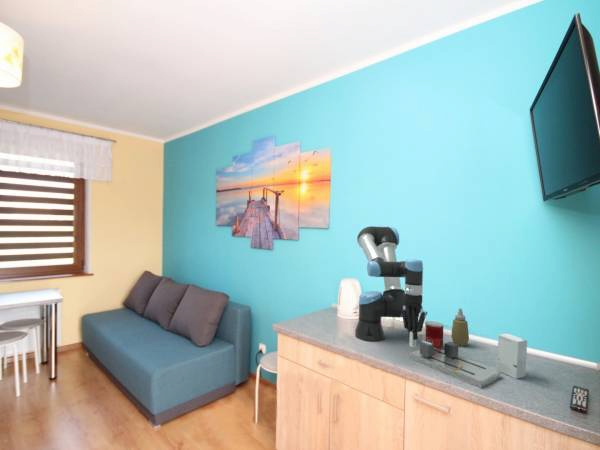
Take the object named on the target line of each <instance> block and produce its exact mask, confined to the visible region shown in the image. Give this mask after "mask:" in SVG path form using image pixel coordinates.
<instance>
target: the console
mask: <svg viewBox="0 0 600 450" xmlns="http://www.w3.org/2000/svg"><path fill="white" fill-rule="evenodd" d="M443 346H444V350H443V349H442V348H436V347H434V355H433V356H431V357H426V356H423V355H421V354H420V348H419V349H417V350H414V351H411V352H409V359H411V360H412V361H415V362H417V363H419V364H422V365H424V366H427V367H429V368H431V369H434V370H437V371H439V372H440V373H443V374H446V375H448V376H451V377H453V378H456V379H458V380H460V381H462V380H463V382H465V383H467V382H468V383H467V384H470V385H472V386H475V387H477V388H480V389H483V388H484V387H486V386H487V385H490V384H491V383H493V382H494V381H495V382H496V381H497V380H498V379H500V378H501V376H502V375H501V374H502V372H501V371H500V370H498V369H496V368H495V367H492V366H489V365H486V364H483V363H480V362H477V361H475V360H472V359H469V358H466V357H464V356H460V355H459V346H458V344H455V343H453V341H452V342H451V341H448V342H445V343H444V345H443Z"/></svg>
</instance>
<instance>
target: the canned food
mask: <svg viewBox="0 0 600 450" xmlns="http://www.w3.org/2000/svg"><path fill="white" fill-rule="evenodd" d="M425 341H427V342H430V343H433V344H434V347H436V348H438V349H442V348H443V346H444V324H443V323H441V322H439V321H429V320H428V321H425Z"/></svg>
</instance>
